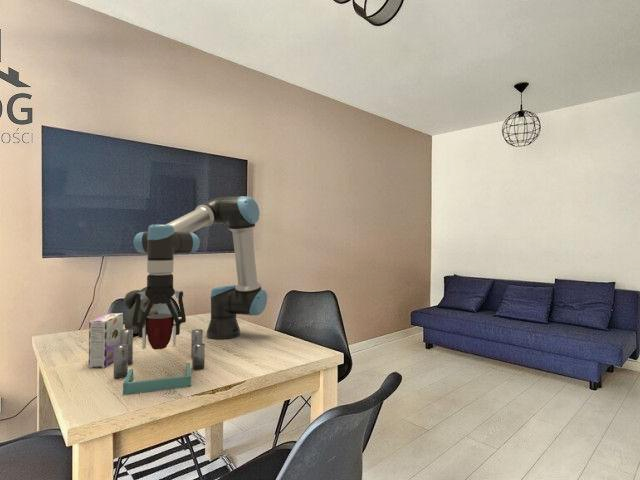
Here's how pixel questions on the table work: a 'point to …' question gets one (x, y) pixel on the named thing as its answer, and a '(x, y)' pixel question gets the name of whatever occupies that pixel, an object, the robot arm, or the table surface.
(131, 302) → the stuffed elephant
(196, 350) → the cylinder
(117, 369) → the spacer front right
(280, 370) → the table surface
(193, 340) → the cylinder
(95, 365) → the candy box
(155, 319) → the mug
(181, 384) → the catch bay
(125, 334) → the spacer back right
